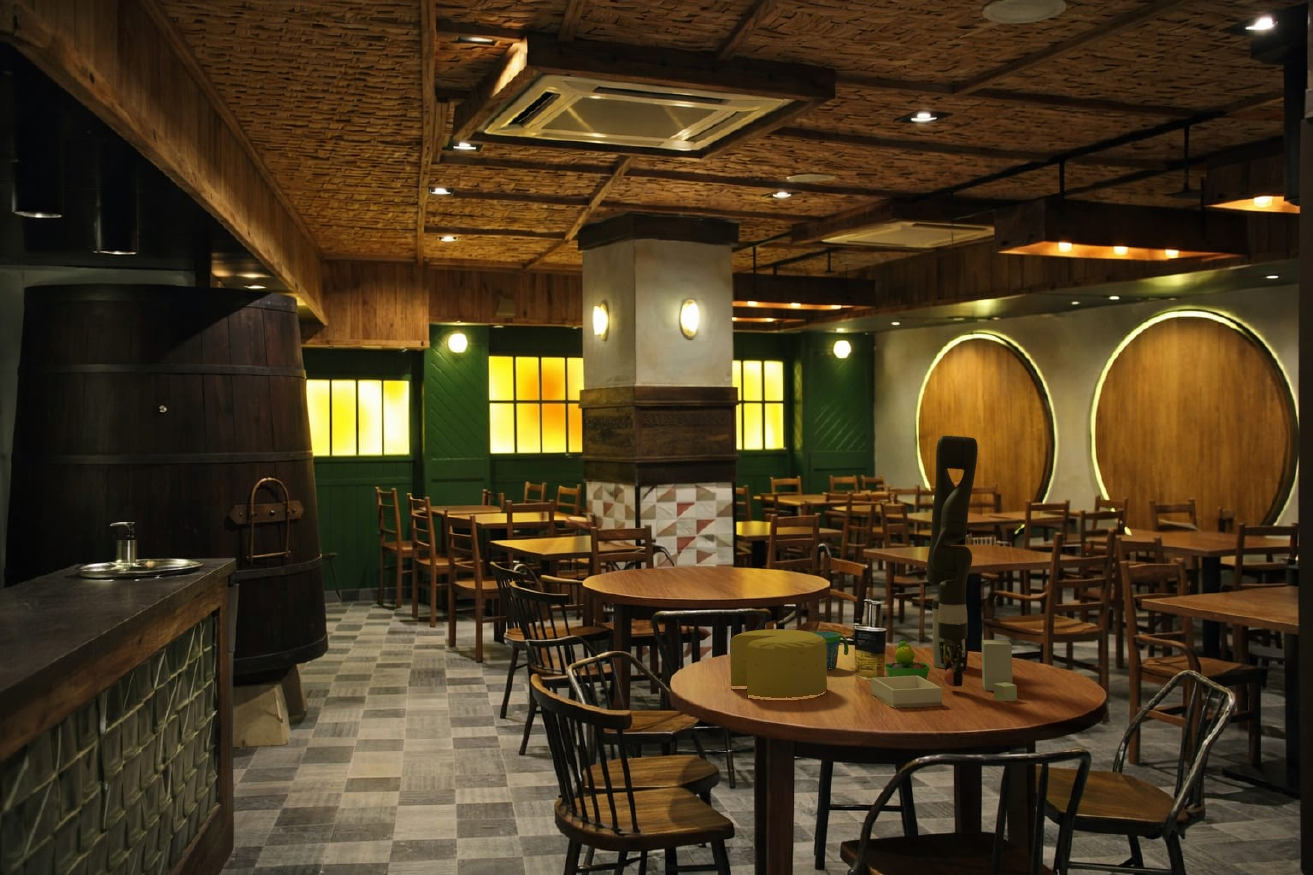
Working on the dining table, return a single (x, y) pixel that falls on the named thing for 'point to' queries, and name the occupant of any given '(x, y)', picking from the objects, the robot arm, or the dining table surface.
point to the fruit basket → (906, 663)
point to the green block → (1005, 692)
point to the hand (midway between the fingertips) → (953, 683)
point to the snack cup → (833, 646)
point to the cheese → (779, 663)
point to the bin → (906, 691)
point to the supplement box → (996, 663)
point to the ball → (949, 677)
